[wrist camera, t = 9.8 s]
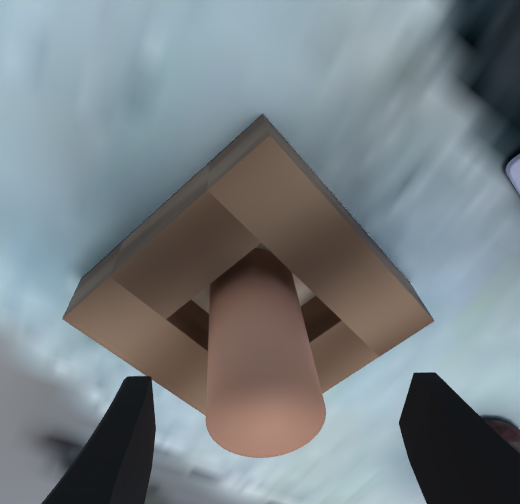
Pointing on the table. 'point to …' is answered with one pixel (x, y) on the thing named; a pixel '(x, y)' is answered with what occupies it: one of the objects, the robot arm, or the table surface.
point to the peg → (260, 362)
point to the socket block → (234, 249)
